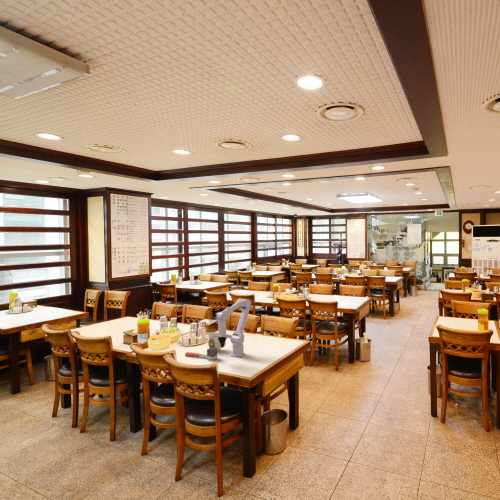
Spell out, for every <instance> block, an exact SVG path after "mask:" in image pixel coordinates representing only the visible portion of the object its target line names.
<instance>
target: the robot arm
mask: <svg viewBox="0 0 500 500" xmlns="http://www.w3.org/2000/svg"><path fill="white" fill-rule="evenodd" d="M251 305H252V303H251V300H250V299H249V298H248V299H245V298H240V297H239V298H238V299H237V300H236V302H234V303H233V304H232V305H231V306H227V307H225V308H224V310H222V311H221V312H219V311H218V313H217V314H216V320H217V327H218V328H217V329H218V331H217V333H218V334H213V337H219V338H218V340H219V342H220V345H221V347H222V348H224V347H225V346H224V344H225V341H226V342H227V339H229V340H230V343H231V344H232V354H231V355H230V357H234V358H241V357H242V356H244V355H245V352H244V351H245V350H244V342H245V334H244V333H243V332H244V329H245V326H246V323H247V319H248V317H249V313H250V309H251ZM238 308H239V309H240V310H241V313H240V316H239V319H238V322H237V327H236V330H235V331H233V332H232V334H227V320H228V318H229V317H230V316H231V315H233V313H234V311H235V310H237V309H238ZM222 348H221V349H222Z"/></svg>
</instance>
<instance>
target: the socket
mask: <svg viewBox="0 0 500 500" xmlns="http://www.w3.org/2000/svg"><path fill="white" fill-rule="evenodd" d="M206 355H207V356H209V357H215V356H216V355H218V351H217V348H209V347H208V349H206Z"/></svg>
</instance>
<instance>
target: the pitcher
mask: <svg viewBox="0 0 500 500" xmlns="http://www.w3.org/2000/svg"><path fill="white" fill-rule="evenodd" d="M205 334H207V337H208V339H207V346H208V349H209V348H217V352H218V351H220V349H222V347H221V345H220V342H219V340H218V338H219V337H213V334H218V331H217V332H212V331H211V332H210V331H209V332H208V331H207V332H205ZM226 342H227V340H226V341H225V344H224V347H225V346H226V344H227V343H226Z"/></svg>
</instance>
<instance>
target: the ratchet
mask: <svg viewBox="0 0 500 500" xmlns="http://www.w3.org/2000/svg"><path fill="white" fill-rule="evenodd" d="M184 355H185V356H184V357H189V358H195V359H196V358H197V359H205V360H207V361H210V360H213V361H216V360H218V354H217V355H216V356H215V357H209V356H207V354H204V353H199V352H198V353H197V352H191V351H190V352H189V351H187V352H185V353H184Z"/></svg>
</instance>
